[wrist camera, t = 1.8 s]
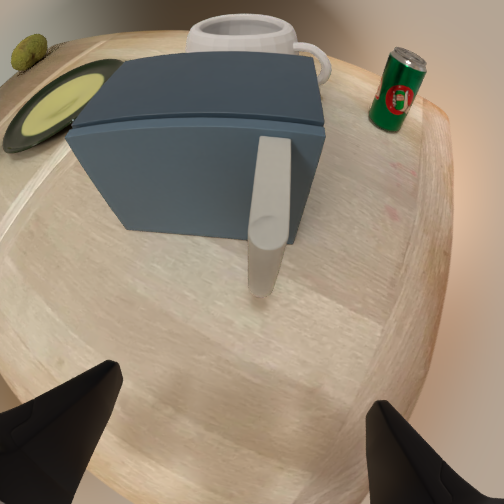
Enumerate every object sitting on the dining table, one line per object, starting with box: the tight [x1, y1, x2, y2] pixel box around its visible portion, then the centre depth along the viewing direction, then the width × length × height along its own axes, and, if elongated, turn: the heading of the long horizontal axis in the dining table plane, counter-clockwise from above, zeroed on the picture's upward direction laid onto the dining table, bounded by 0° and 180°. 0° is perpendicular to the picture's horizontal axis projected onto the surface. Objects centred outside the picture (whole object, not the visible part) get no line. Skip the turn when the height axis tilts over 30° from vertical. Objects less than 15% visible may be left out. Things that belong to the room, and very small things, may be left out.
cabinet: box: [71, 51, 324, 129], centre depth 20 cm, size 9×16×13 cm, turn 84°
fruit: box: [11, 34, 47, 71], centre depth 49 cm, size 16×14×15 cm
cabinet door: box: [65, 117, 326, 298], centre depth 17 cm, size 7×16×12 cm, turn 84°
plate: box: [3, 59, 124, 153], centre depth 34 cm, size 28×28×2 cm
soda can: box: [369, 47, 426, 132], centre depth 26 cm, size 5×5×12 cm
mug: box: [185, 14, 332, 86], centre depth 30 cm, size 21×17×10 cm
